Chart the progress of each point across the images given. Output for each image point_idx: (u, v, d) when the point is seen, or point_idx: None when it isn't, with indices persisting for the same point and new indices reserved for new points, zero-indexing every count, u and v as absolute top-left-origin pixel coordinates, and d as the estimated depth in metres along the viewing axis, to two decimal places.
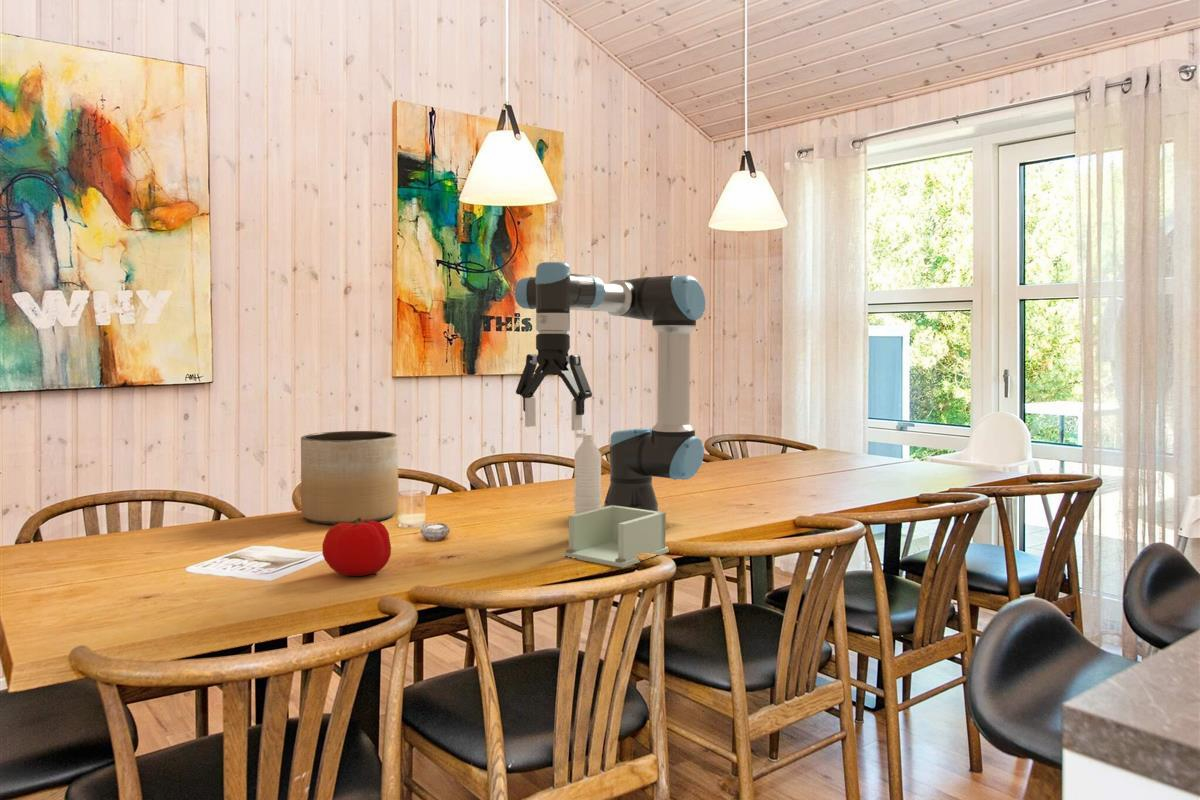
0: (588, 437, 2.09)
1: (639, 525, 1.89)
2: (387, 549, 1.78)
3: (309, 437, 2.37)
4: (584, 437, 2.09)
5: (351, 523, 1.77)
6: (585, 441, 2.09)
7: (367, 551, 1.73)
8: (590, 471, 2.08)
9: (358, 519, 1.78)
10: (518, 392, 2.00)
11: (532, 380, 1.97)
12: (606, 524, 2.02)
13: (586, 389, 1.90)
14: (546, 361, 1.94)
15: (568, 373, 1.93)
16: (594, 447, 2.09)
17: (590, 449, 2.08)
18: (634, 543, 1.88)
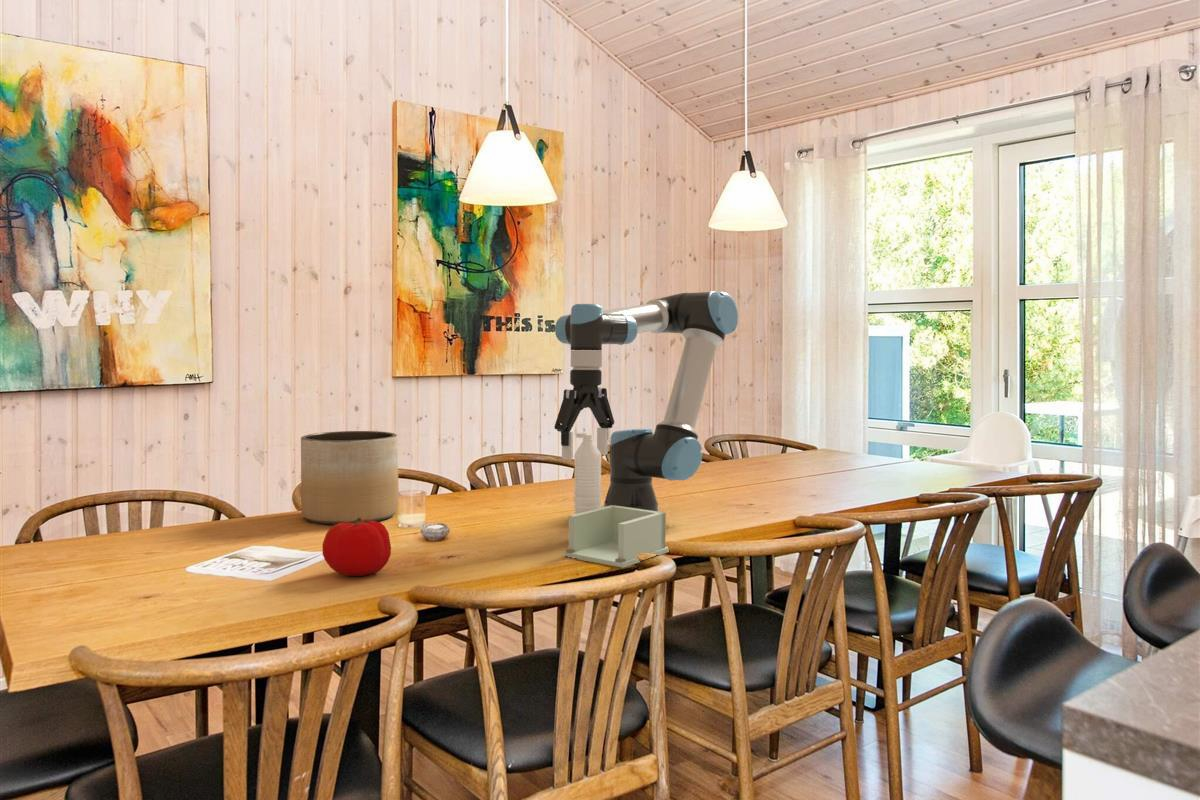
0: (588, 437, 2.09)
1: (639, 525, 1.89)
2: (387, 549, 1.78)
3: (309, 437, 2.37)
4: (584, 437, 2.09)
5: (351, 523, 1.77)
6: (585, 441, 2.09)
7: (367, 551, 1.73)
8: (590, 471, 2.08)
9: (358, 519, 1.78)
10: None
11: None
12: (606, 524, 2.02)
13: (559, 422, 2.03)
14: None
15: (574, 407, 2.07)
16: (594, 447, 2.09)
17: (590, 449, 2.08)
18: (634, 543, 1.88)
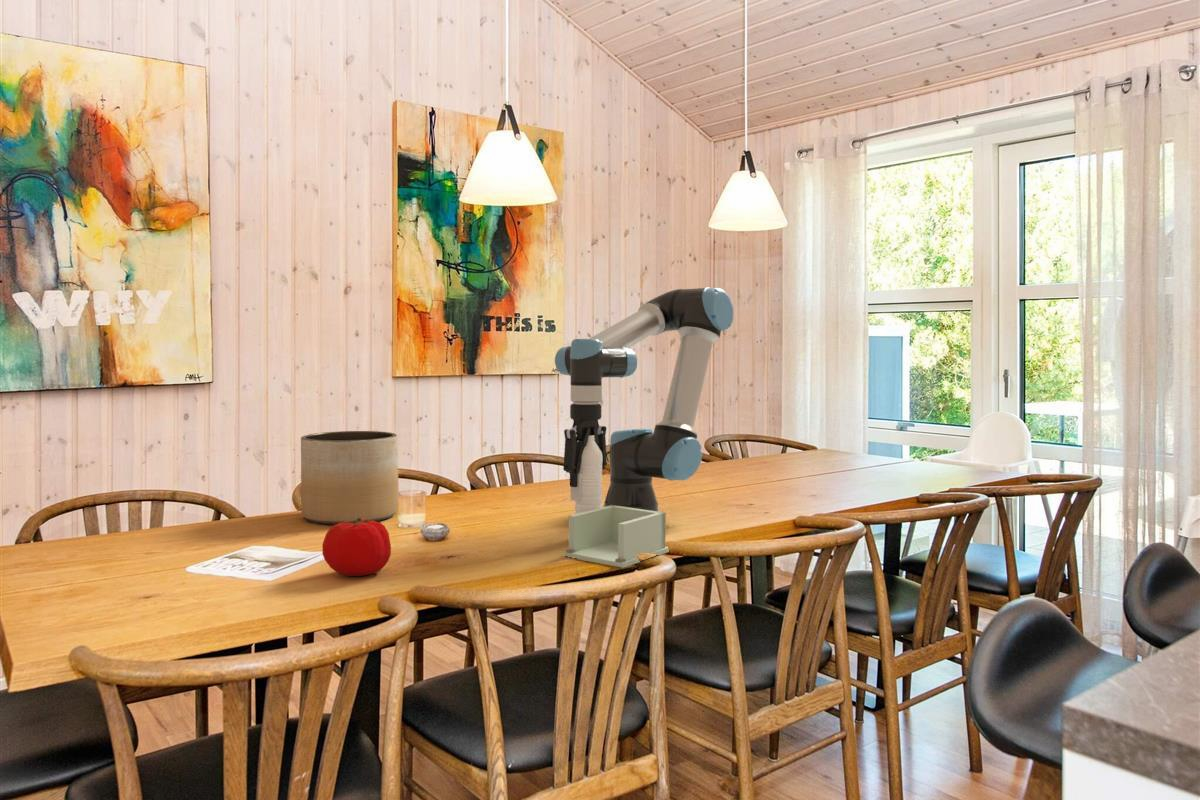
0: (590, 436, 2.10)
1: (639, 525, 1.89)
2: (387, 549, 1.78)
3: (309, 437, 2.37)
4: None
5: (351, 523, 1.77)
6: None
7: (367, 551, 1.73)
8: (592, 470, 2.08)
9: (358, 519, 1.78)
10: None
11: None
12: (606, 524, 2.02)
13: (567, 464, 2.06)
14: None
15: (577, 445, 2.09)
16: (595, 446, 2.09)
17: (591, 448, 2.09)
18: (634, 543, 1.88)
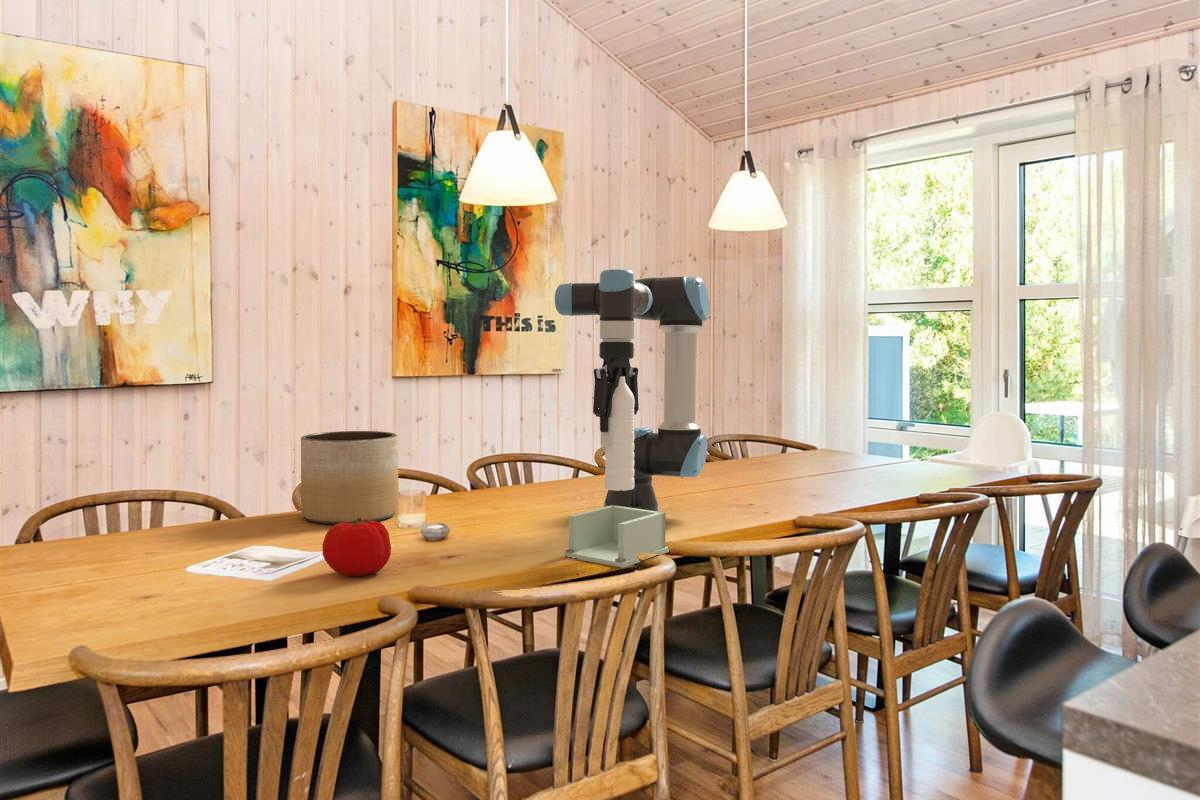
0: (620, 377, 1.91)
1: (639, 525, 1.89)
2: (387, 549, 1.78)
3: (309, 437, 2.37)
4: None
5: (351, 523, 1.77)
6: None
7: (367, 551, 1.73)
8: (623, 414, 1.90)
9: (358, 519, 1.78)
10: None
11: None
12: (606, 524, 2.02)
13: (597, 407, 1.88)
14: None
15: (608, 386, 1.91)
16: (626, 388, 1.91)
17: (622, 390, 1.90)
18: (634, 543, 1.88)
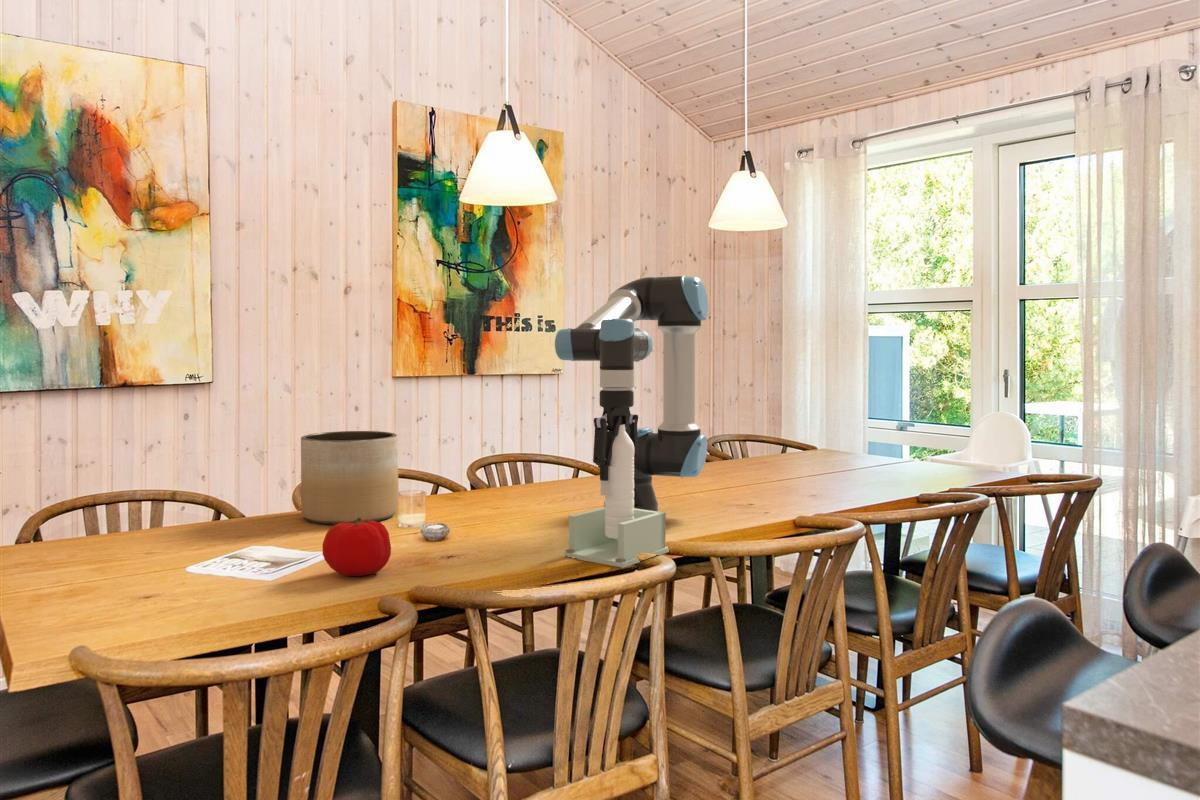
0: (620, 426, 1.92)
1: (639, 525, 1.89)
2: (387, 549, 1.78)
3: (309, 437, 2.37)
4: None
5: (351, 523, 1.77)
6: None
7: (367, 551, 1.73)
8: (623, 463, 1.90)
9: (358, 519, 1.78)
10: None
11: None
12: None
13: (597, 456, 1.89)
14: None
15: (608, 435, 1.91)
16: (626, 437, 1.92)
17: (622, 439, 1.91)
18: (634, 543, 1.88)
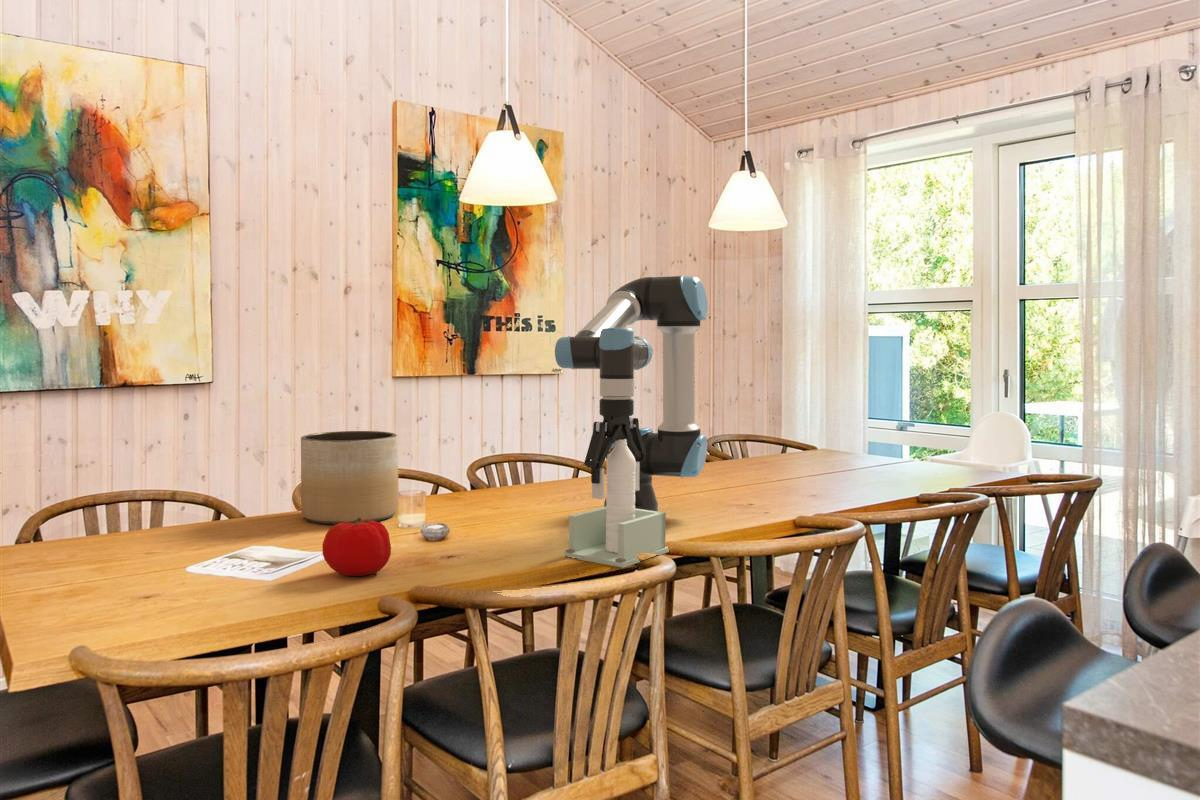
0: (622, 441, 1.92)
1: (639, 525, 1.89)
2: (387, 549, 1.78)
3: (309, 437, 2.37)
4: (617, 441, 1.93)
5: (351, 523, 1.77)
6: (618, 445, 1.93)
7: (367, 551, 1.73)
8: (624, 477, 1.91)
9: (358, 519, 1.78)
10: None
11: None
12: None
13: (589, 458, 1.87)
14: None
15: (605, 440, 1.90)
16: (628, 451, 1.92)
17: (624, 453, 1.92)
18: (634, 543, 1.88)
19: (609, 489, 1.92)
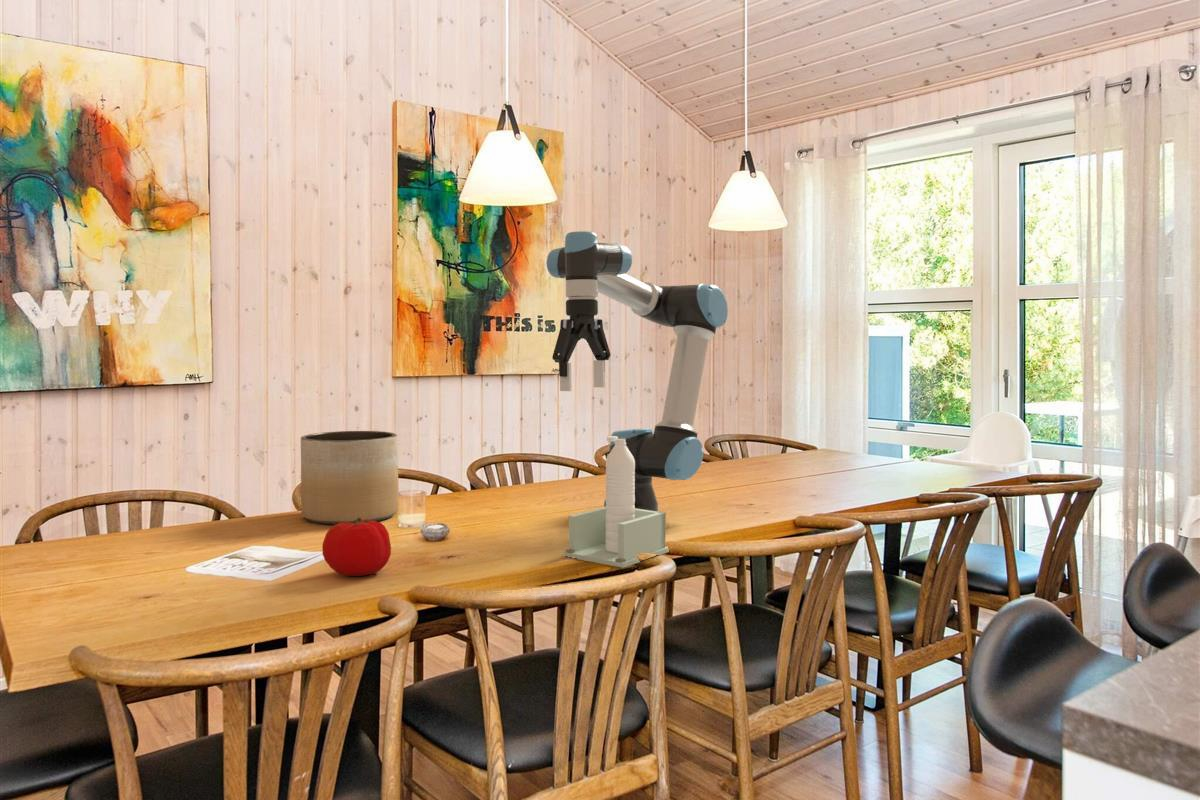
0: (621, 441, 1.92)
1: (639, 525, 1.89)
2: (387, 549, 1.78)
3: (309, 437, 2.37)
4: (616, 441, 1.93)
5: (351, 523, 1.77)
6: (617, 445, 1.93)
7: (367, 551, 1.73)
8: (624, 478, 1.91)
9: (358, 519, 1.78)
10: None
11: None
12: None
13: (557, 352, 1.99)
14: None
15: (571, 337, 2.03)
16: (627, 451, 1.92)
17: (623, 453, 1.92)
18: (634, 543, 1.88)
19: (608, 489, 1.92)
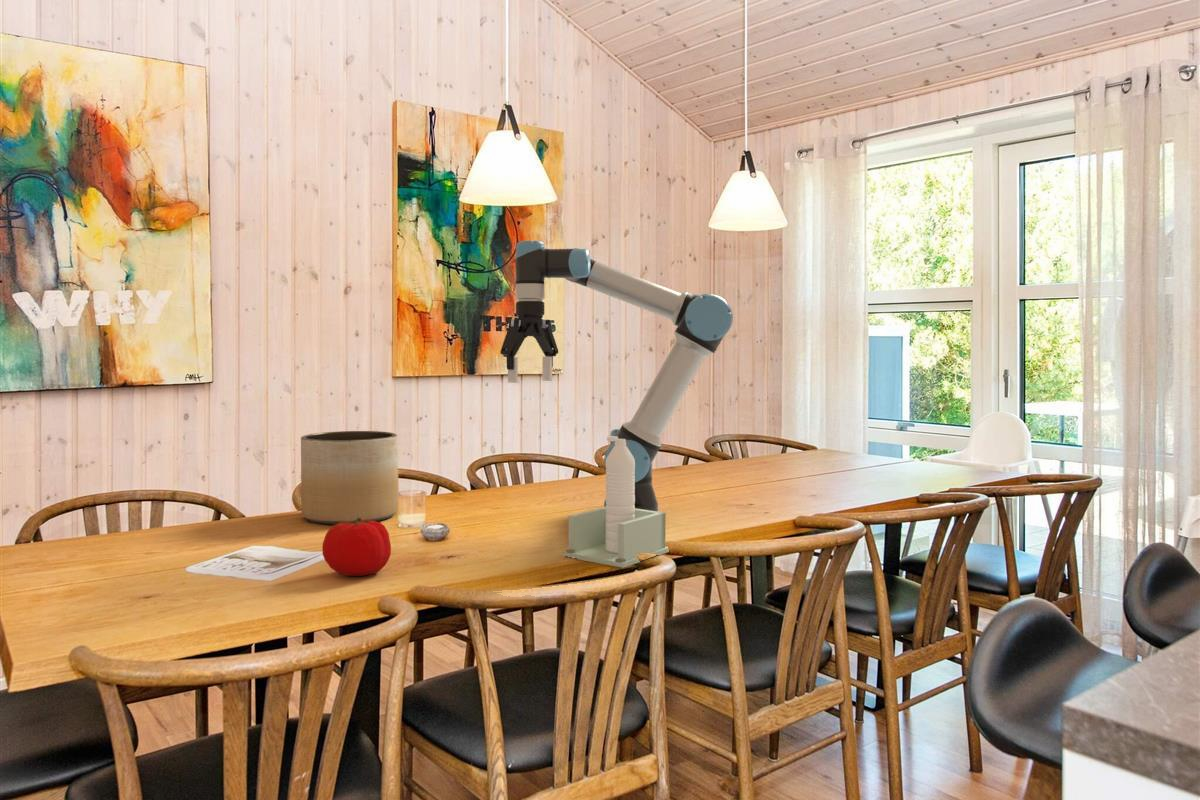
0: (621, 441, 1.92)
1: (639, 525, 1.89)
2: (387, 549, 1.78)
3: (309, 437, 2.37)
4: (616, 441, 1.93)
5: (351, 523, 1.77)
6: (617, 445, 1.93)
7: (367, 551, 1.73)
8: (624, 478, 1.91)
9: (358, 519, 1.78)
10: None
11: None
12: None
13: (504, 347, 2.24)
14: None
15: (519, 335, 2.28)
16: (627, 451, 1.92)
17: (623, 453, 1.92)
18: (634, 543, 1.88)
19: (609, 489, 1.92)
